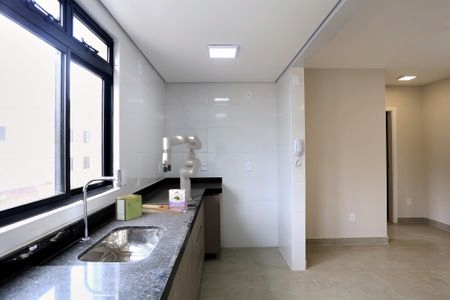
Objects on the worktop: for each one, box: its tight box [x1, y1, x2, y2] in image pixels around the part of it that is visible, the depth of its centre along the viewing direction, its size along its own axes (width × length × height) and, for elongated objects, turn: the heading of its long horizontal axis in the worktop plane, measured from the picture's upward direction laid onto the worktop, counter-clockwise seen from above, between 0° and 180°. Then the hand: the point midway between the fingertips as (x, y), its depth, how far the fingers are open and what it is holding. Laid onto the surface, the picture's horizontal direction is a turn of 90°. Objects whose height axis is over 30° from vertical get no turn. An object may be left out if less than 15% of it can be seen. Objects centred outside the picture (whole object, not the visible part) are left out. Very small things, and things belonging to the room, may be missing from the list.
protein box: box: [115, 194, 143, 222], centre depth 187 cm, size 10×15×16 cm
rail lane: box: [142, 203, 183, 214], centre depth 209 cm, size 15×38×2 cm, turn 83°
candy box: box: [168, 188, 188, 212], centre depth 207 cm, size 14×6×16 cm, turn 83°
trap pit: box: [156, 204, 169, 209], centre depth 208 cm, size 11×7×3 cm, turn 173°
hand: (167, 171), depth 220 cm, fingers open, 9 cm apart
